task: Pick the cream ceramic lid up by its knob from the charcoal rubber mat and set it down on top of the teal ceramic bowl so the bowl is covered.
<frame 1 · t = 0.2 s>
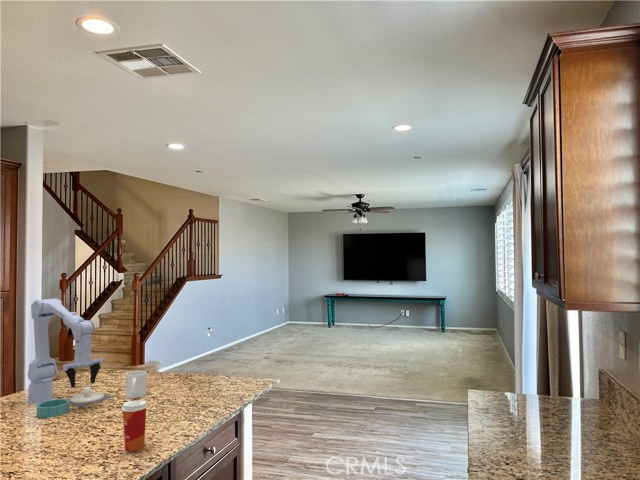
hand: (82, 385, 184), 10 cm above the worktop, tool pointing down, fingers open, 7 cm apart
mug: (135, 398, 199), on the worktop
bowl: (53, 413, 180), on the worktop
mat: (87, 400, 197), on the worktop
paper cup: (134, 448, 146), on the worktop
lid: (87, 399, 197), resting on mat
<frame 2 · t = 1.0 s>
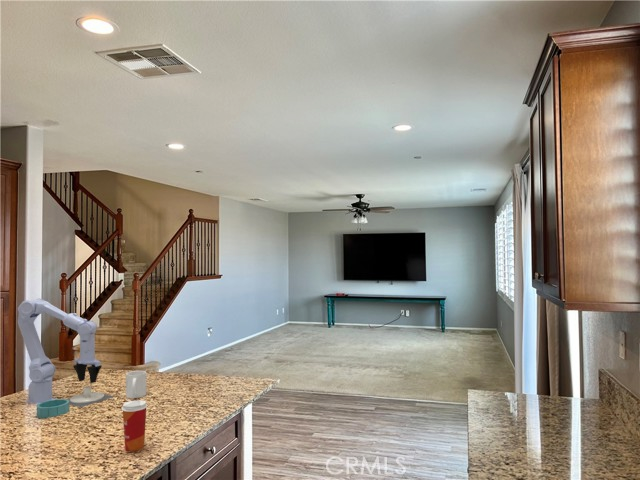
hand: (87, 381, 197), 8 cm above the worktop, tool pointing down, fingers open, 7 cm apart
nothing on the worktop moved.
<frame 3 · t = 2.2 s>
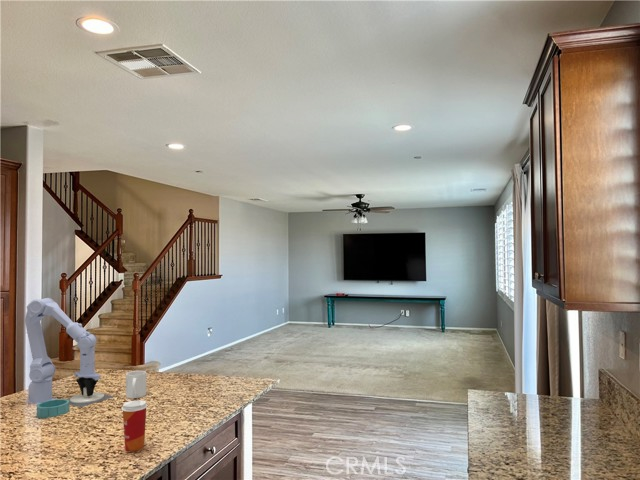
hand: (87, 395, 197), 2 cm above the worktop, tool pointing down, fingers closed on lid, 3 cm apart
lid: (87, 399, 197), resting on mat, touching gripper
everything else where it was.
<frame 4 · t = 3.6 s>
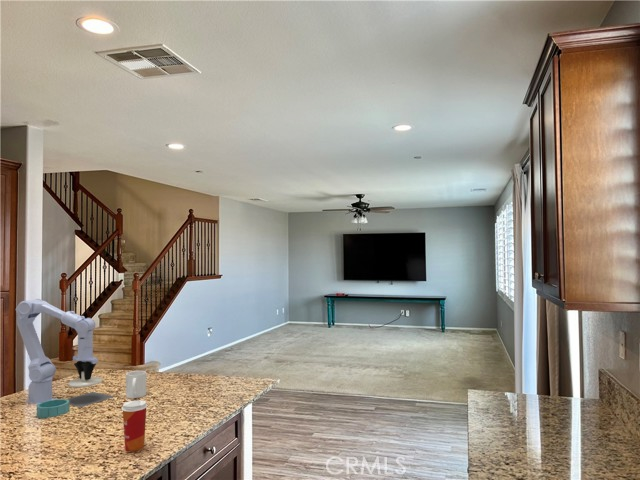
hand: (85, 379, 196), 9 cm above the worktop, tool pointing down, fingers closed on lid, 3 cm apart
lid: (85, 383, 196), point 8 cm above the worktop, touching gripper
everything else where it was.
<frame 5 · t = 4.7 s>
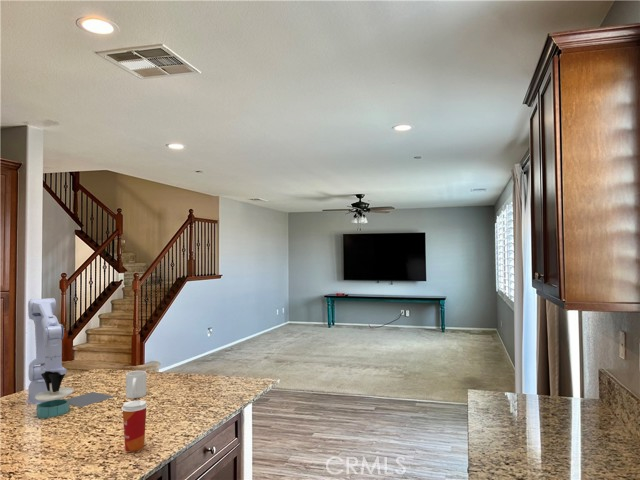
hand: (53, 390, 180), 9 cm above the worktop, tool pointing down, fingers closed on lid, 3 cm apart
lid: (54, 395, 181), point 7 cm above the worktop, touching gripper
everything else where it was.
when the fingers open (7 cm above the worktop, at t = 5.2 s): lid drops 2 cm, resting on bowl.
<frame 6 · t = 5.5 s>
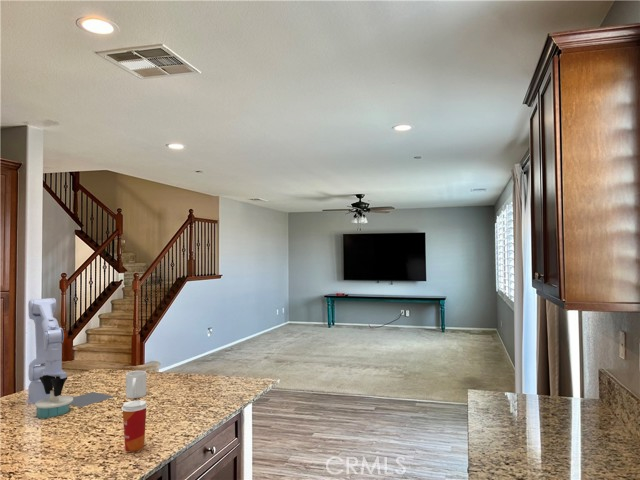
hand: (53, 394, 180), 7 cm above the worktop, tool pointing down, fingers open, 5 cm apart
lid: (54, 403, 180), point 4 cm above the worktop, touching bowl
everything else where it was.
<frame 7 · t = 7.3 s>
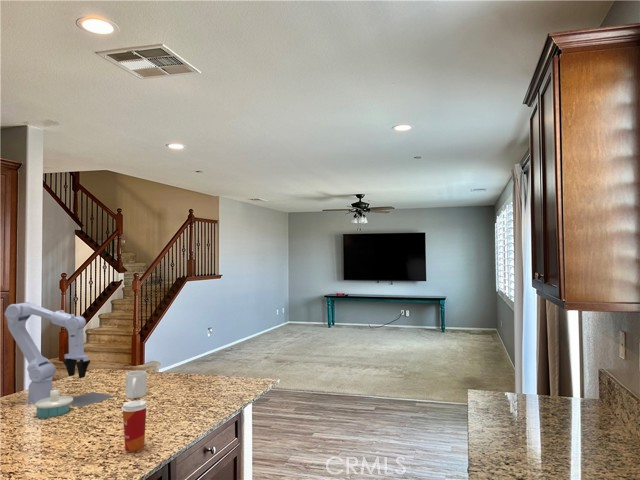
hand: (76, 376, 196), 10 cm above the worktop, tool pointing down, fingers open, 7 cm apart
nothing on the worktop moved.
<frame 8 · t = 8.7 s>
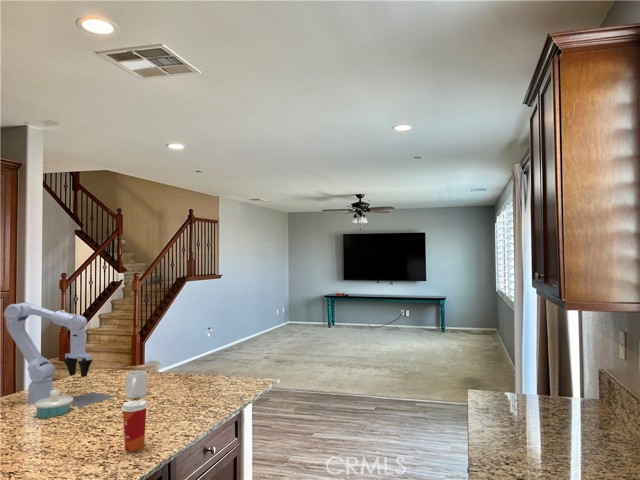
hand: (78, 375, 197), 10 cm above the worktop, tool pointing down, fingers open, 7 cm apart
nothing on the worktop moved.
at the end: lid 0.5 cm off-centre on the bowl, point 4.0 cm above the bowl's base; lid tilted 0°; the gripper is holding nothing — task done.
